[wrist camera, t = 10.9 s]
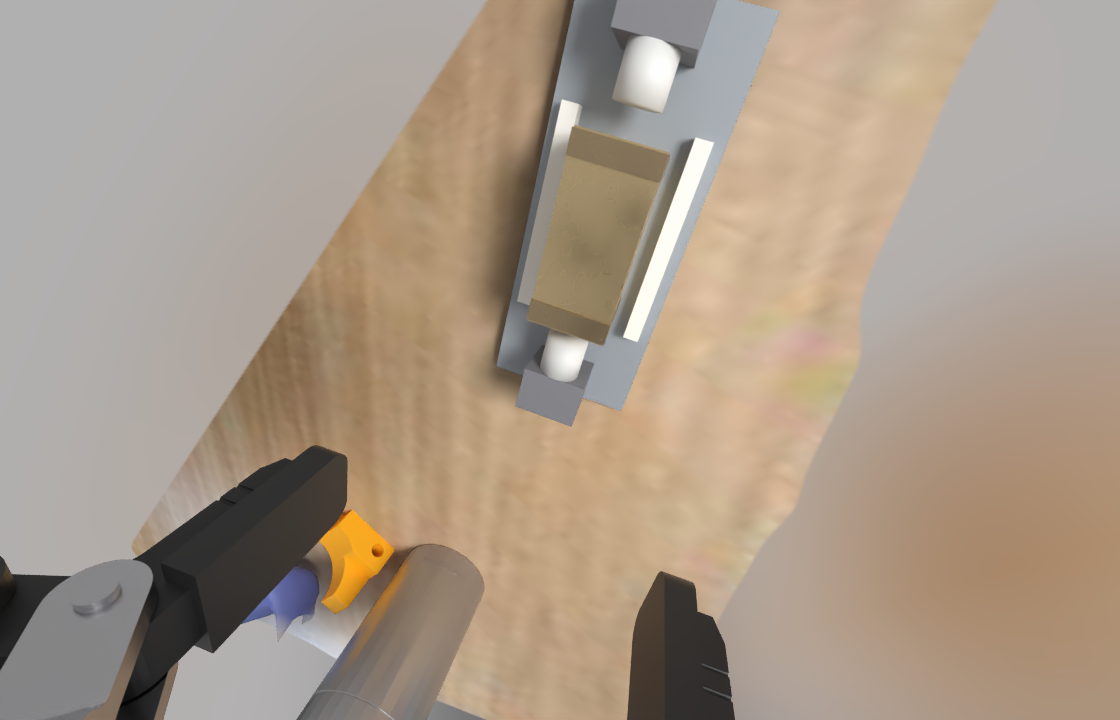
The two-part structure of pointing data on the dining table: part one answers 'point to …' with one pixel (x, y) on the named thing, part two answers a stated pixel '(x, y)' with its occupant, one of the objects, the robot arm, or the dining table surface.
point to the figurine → (290, 599)
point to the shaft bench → (646, 118)
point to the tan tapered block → (595, 232)
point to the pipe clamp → (352, 559)
